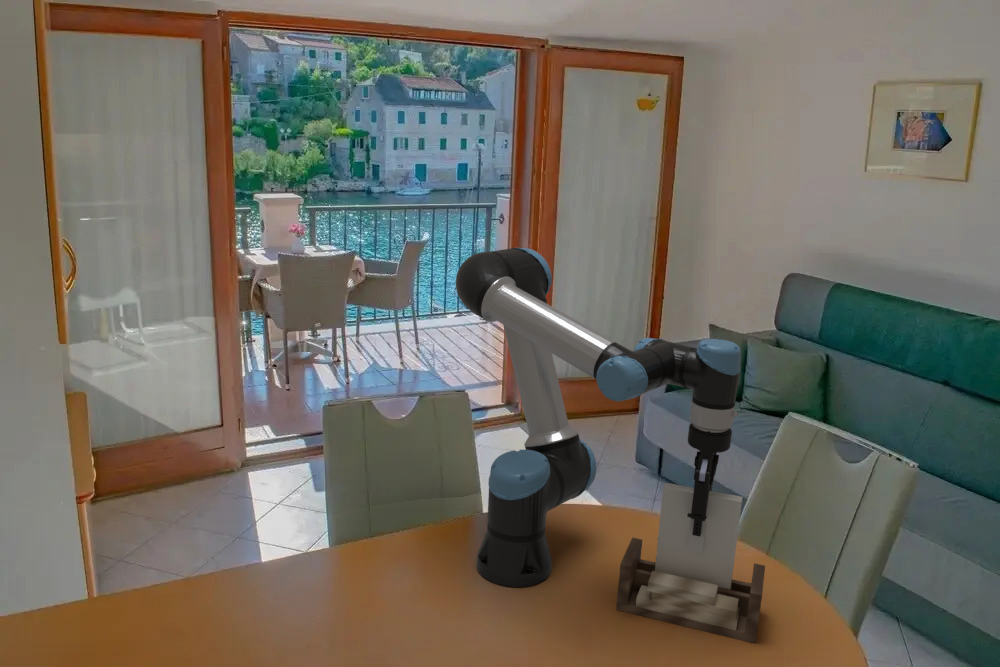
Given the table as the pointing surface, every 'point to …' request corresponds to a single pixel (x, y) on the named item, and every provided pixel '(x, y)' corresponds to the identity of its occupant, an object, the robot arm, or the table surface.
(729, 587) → the sheet
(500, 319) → the robot arm
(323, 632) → the table surface
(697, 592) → the offcuts
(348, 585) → the table surface
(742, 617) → the rack
